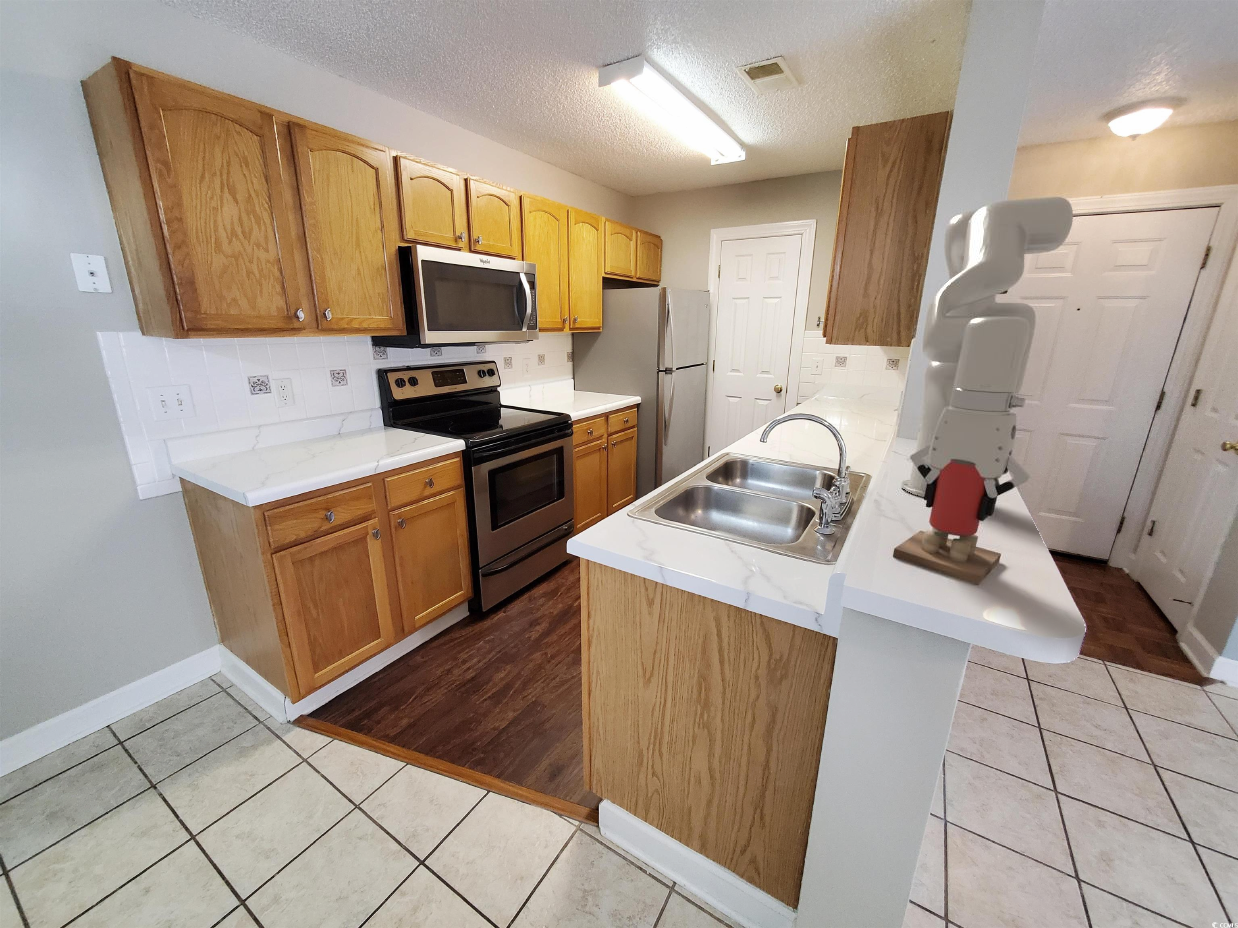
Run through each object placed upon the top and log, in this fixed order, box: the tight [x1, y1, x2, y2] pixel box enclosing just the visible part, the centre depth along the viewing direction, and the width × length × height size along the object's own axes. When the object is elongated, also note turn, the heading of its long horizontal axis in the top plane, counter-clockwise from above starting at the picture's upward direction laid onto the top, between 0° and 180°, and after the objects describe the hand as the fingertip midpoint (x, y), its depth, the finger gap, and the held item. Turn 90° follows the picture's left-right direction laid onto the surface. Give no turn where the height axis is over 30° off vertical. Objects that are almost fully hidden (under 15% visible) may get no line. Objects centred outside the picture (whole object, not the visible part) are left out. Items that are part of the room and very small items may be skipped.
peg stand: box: [892, 527, 1002, 586], centre depth 80 cm, size 12×12×4 cm
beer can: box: [928, 459, 987, 537], centre depth 78 cm, size 7×7×12 cm
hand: (956, 511), depth 78 cm, fingers closed on beer can, 6 cm apart
